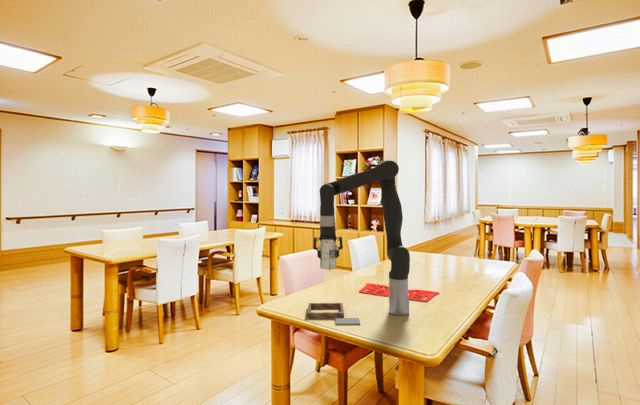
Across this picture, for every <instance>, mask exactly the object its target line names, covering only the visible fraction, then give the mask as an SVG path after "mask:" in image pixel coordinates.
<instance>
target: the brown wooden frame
mask: <svg viewBox="0 0 640 405" xmlns="http://www.w3.org/2000/svg"><path fill="white" fill-rule="evenodd" d="M343 304H344V303H343V302H308V306H307V319H335V318H345V309H344V305H343ZM313 308H321V309H340V311H331V312H329V311H328V312H326V311H325V312H318V311H317V312H315V311H314V312H312V309H313Z"/></svg>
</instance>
